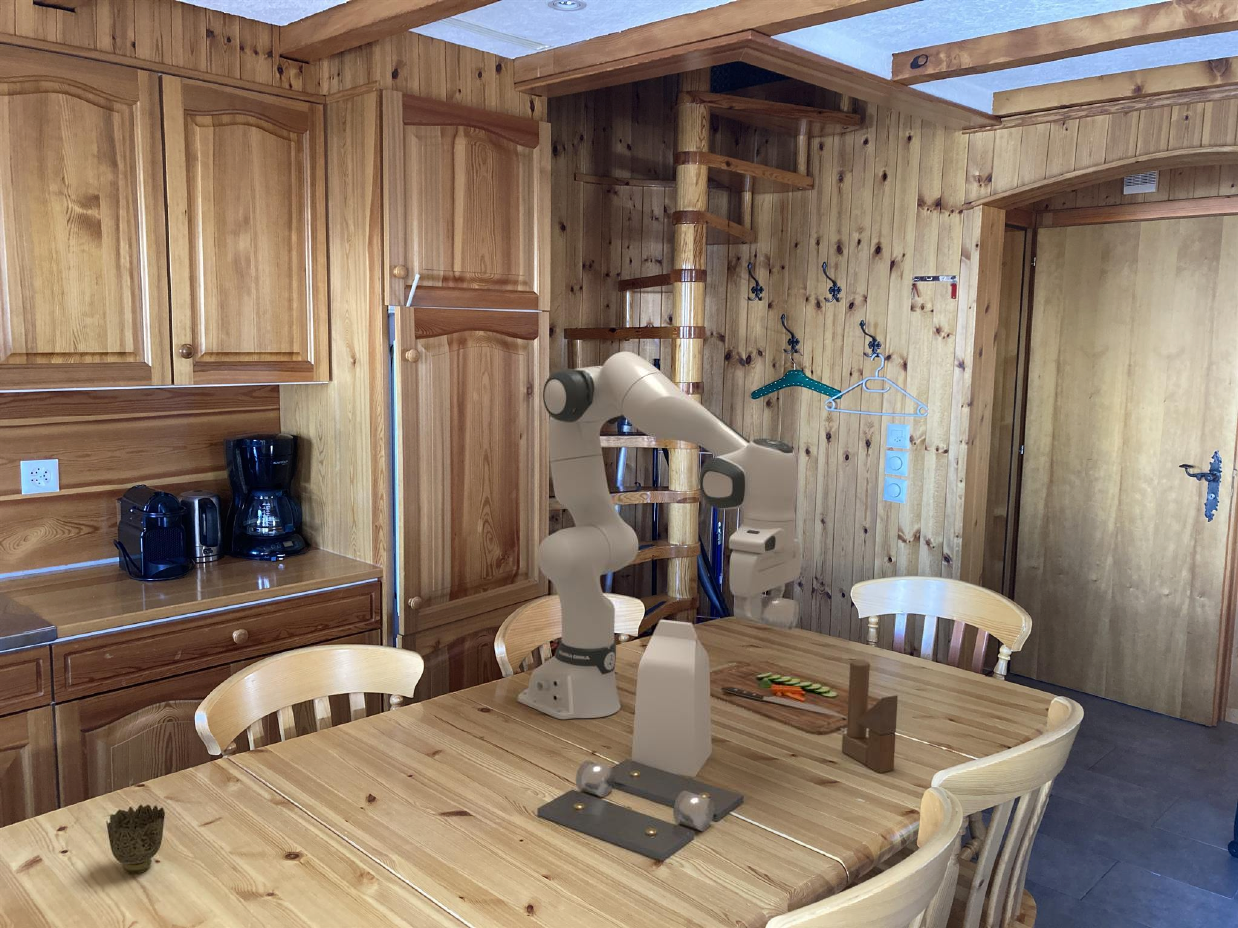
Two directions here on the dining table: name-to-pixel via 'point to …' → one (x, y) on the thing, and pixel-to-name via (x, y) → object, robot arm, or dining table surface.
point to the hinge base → (634, 828)
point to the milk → (673, 702)
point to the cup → (136, 836)
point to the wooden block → (869, 723)
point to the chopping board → (784, 696)
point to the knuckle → (769, 611)
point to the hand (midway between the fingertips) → (765, 612)
